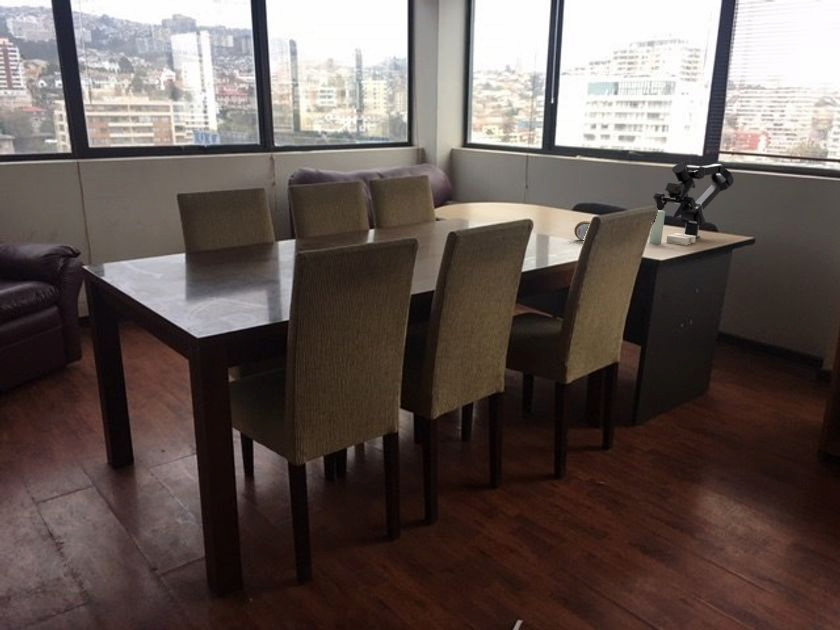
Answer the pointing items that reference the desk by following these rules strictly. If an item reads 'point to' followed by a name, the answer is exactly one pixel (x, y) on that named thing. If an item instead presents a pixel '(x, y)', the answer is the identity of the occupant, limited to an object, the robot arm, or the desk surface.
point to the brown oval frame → (581, 229)
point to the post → (657, 228)
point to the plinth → (680, 239)
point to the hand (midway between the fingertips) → (664, 215)
